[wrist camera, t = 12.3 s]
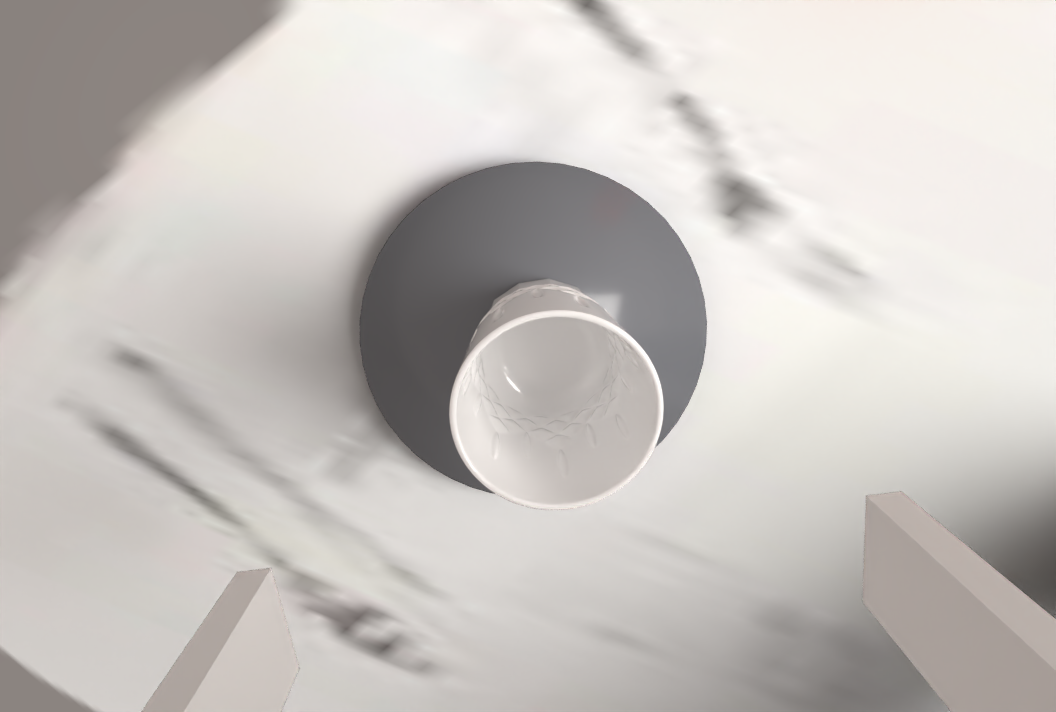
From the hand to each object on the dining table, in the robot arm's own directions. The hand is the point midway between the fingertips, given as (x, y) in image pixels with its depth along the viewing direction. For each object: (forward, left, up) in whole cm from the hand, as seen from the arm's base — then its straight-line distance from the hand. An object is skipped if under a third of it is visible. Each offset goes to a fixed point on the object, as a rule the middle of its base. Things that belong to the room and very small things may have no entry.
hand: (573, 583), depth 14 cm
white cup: (0, 0, -20) cm, 20 cm away
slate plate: (0, 0, -21) cm, 21 cm away
